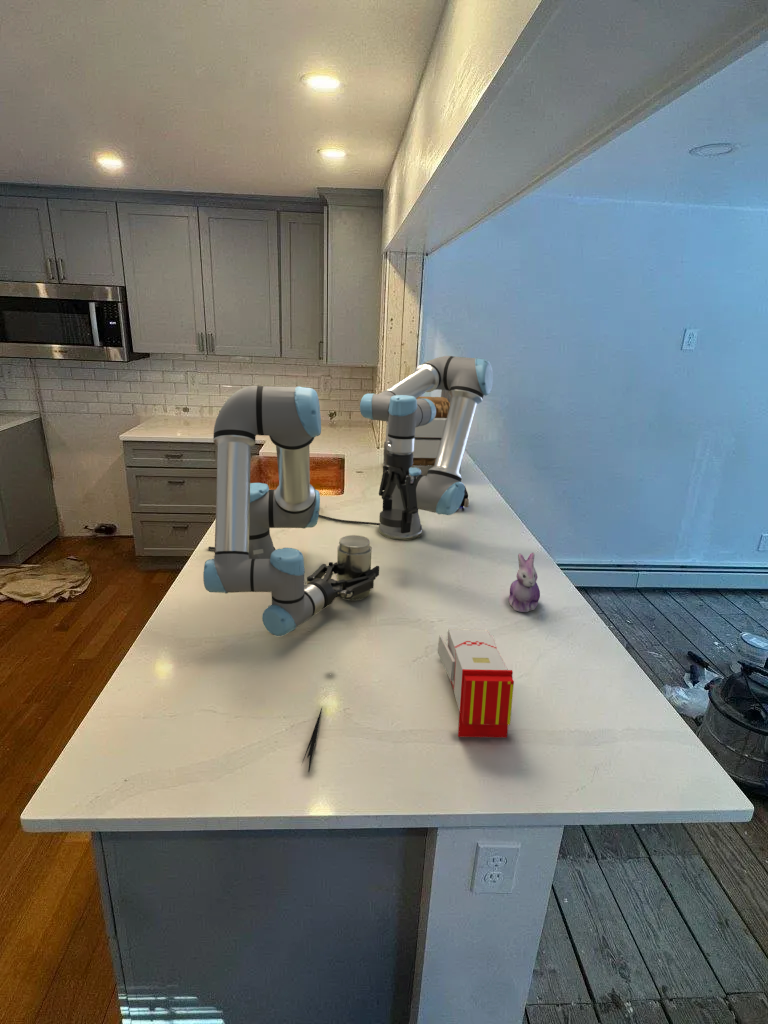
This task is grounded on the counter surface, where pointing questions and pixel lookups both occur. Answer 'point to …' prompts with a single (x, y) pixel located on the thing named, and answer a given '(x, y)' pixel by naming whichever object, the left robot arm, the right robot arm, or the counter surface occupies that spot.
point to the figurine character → (464, 500)
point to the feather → (313, 740)
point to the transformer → (428, 433)
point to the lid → (392, 518)
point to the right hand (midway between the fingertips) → (395, 526)
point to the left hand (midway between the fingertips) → (362, 565)
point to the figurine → (525, 586)
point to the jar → (353, 560)
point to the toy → (478, 682)
